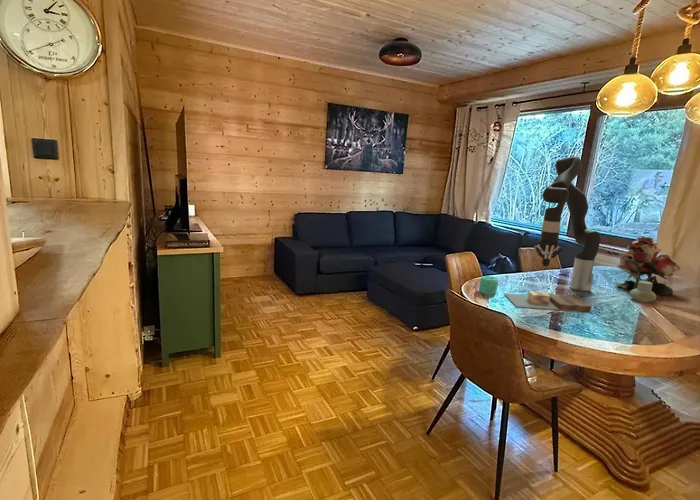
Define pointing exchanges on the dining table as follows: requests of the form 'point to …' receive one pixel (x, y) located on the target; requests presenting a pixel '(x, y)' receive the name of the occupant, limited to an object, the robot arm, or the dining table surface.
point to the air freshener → (643, 292)
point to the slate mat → (528, 302)
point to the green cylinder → (488, 285)
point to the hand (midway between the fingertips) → (545, 266)
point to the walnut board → (569, 302)
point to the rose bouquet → (647, 265)
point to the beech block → (538, 297)
